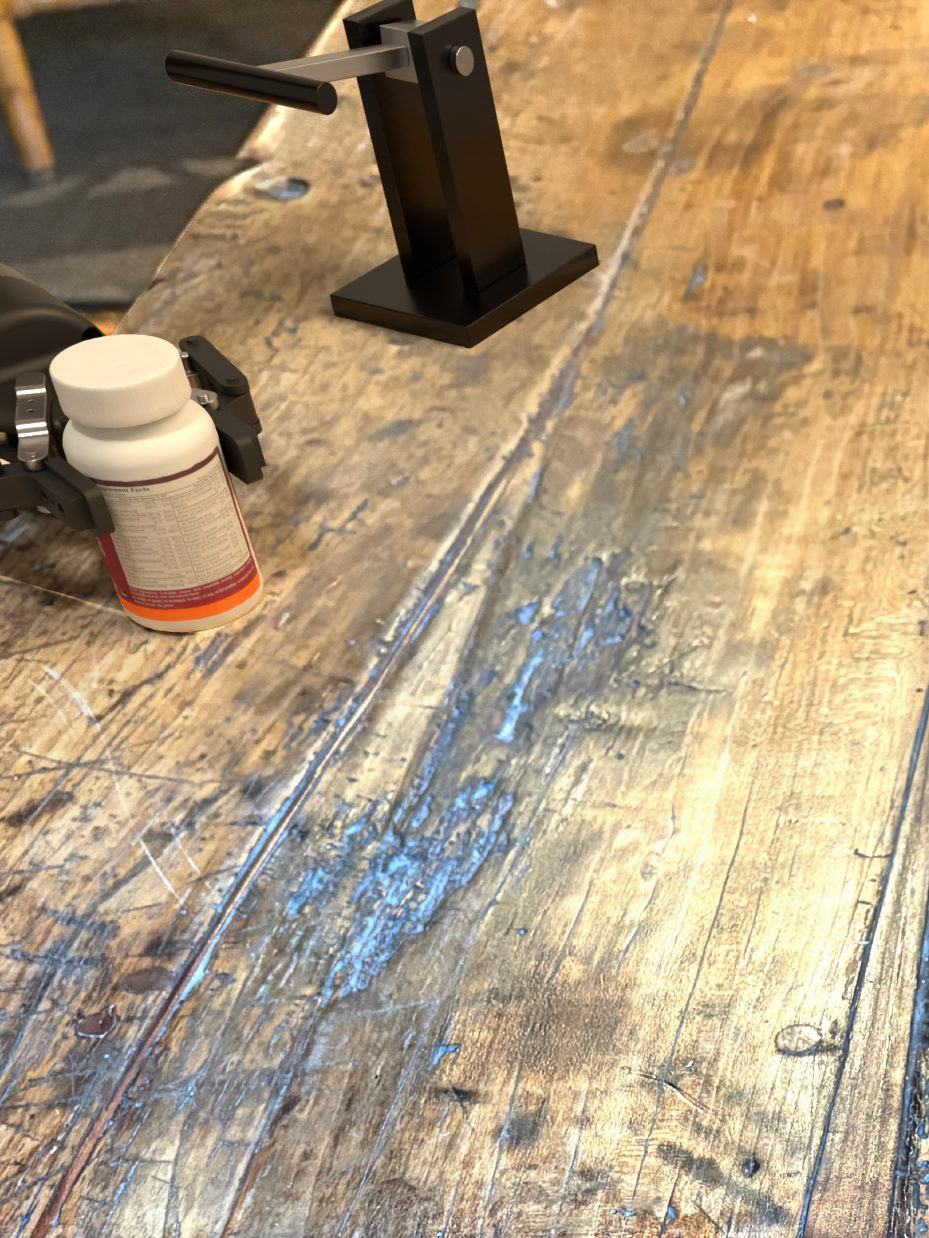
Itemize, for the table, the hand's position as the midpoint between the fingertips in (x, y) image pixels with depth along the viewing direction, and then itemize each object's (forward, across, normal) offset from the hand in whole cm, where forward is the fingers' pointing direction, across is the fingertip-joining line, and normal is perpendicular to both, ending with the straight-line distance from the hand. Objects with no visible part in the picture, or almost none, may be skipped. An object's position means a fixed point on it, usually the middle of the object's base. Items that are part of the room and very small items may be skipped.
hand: (177, 487), depth 95 cm
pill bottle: (-2, 0, +7) cm, 7 cm away
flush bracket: (-22, +27, +6) cm, 35 cm away
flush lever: (-20, +21, -6) cm, 30 cm away
